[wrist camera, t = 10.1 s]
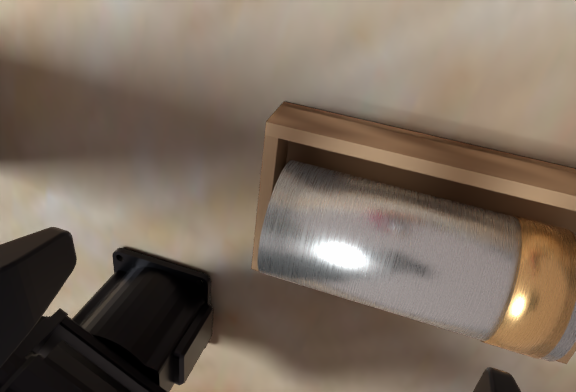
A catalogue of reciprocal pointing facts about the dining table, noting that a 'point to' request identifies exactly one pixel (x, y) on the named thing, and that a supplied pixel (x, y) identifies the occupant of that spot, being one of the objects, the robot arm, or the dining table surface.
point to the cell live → (424, 258)
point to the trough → (415, 167)
